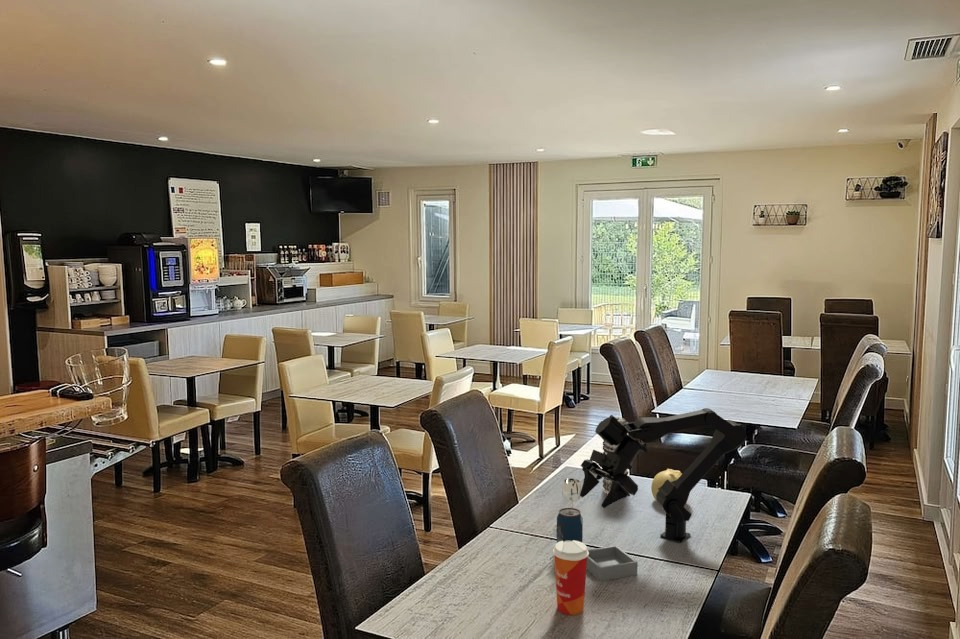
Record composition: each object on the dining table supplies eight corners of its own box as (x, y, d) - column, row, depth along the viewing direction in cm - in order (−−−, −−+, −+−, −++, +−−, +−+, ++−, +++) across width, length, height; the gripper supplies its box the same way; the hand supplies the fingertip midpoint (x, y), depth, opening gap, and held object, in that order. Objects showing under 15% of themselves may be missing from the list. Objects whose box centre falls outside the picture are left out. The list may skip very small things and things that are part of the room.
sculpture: (693, 508, 226) (694, 475, 224) (655, 509, 226) (656, 475, 225) (684, 496, 237) (684, 464, 236) (647, 496, 237) (648, 464, 236)
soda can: (585, 551, 196) (585, 509, 194) (577, 561, 189) (578, 518, 188) (561, 547, 198) (561, 505, 197) (553, 557, 192) (553, 514, 191)
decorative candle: (601, 495, 238) (602, 421, 236) (601, 485, 247) (602, 414, 245) (629, 496, 237) (630, 422, 234) (628, 486, 246) (629, 415, 243)
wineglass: (580, 523, 215) (580, 484, 213) (561, 522, 216) (561, 483, 215) (581, 516, 220) (581, 478, 219) (562, 514, 222) (563, 477, 220)
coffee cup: (549, 600, 169) (549, 539, 168) (583, 598, 170) (584, 538, 168) (556, 619, 161) (556, 555, 159) (592, 617, 162) (592, 553, 160)
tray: (615, 557, 192) (616, 545, 192) (637, 574, 182) (637, 561, 182) (580, 563, 188) (580, 551, 188) (600, 581, 179) (600, 568, 178)
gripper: (586, 431, 205) (554, 475, 201) (630, 447, 189) (597, 495, 184) (607, 454, 210) (577, 497, 205) (652, 471, 193) (620, 519, 189)
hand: (591, 501), depth 196 cm, fingers open, 9 cm apart
